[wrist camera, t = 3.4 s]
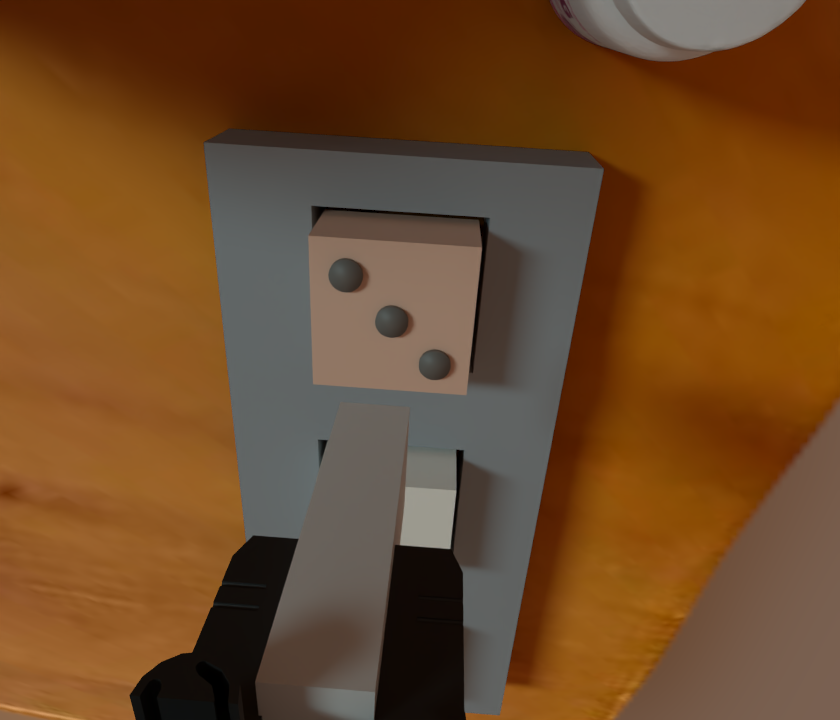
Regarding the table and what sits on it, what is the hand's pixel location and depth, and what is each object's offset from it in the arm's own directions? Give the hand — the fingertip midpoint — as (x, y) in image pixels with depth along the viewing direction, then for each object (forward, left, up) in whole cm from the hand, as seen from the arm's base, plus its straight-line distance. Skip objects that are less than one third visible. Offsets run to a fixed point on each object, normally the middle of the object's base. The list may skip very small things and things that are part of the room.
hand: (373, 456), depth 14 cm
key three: (0, 0, -9) cm, 9 cm away
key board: (0, -9, -11) cm, 14 cm away
